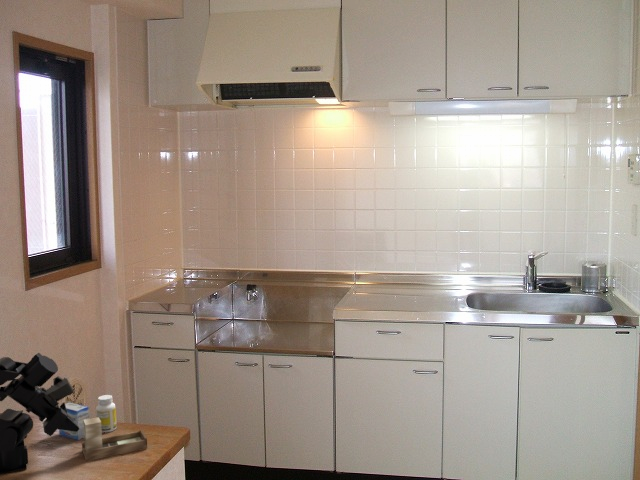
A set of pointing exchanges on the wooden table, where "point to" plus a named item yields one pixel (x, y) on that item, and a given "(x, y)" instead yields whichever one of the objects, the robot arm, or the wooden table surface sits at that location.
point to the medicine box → (76, 420)
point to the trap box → (117, 445)
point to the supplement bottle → (106, 413)
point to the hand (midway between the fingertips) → (78, 429)
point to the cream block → (92, 434)
